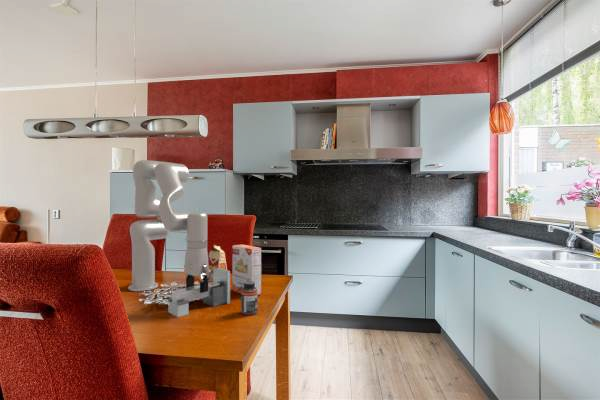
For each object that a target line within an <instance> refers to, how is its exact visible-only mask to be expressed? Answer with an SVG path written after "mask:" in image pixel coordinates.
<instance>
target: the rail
mask: <svg viewBox="0 0 600 400" xmlns="http://www.w3.org/2000/svg"><path fill="white" fill-rule="evenodd" d="M217 287H220V283H217V282H210V283H208V291H207V292H203V293H200V284H197V285H194V286H192V287H188V288H186V287H184V288H180V289H179V288H178V289H176V290H171V298H172V302H173V303H175V304H177V303H178V302H182V301H186V300H189V302H192V301H196V300H199V299H203V298H204V297H208V296H211V295H213V288H217Z"/></svg>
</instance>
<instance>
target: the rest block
mask: <svg viewBox="0 0 600 400" xmlns="http://www.w3.org/2000/svg"><path fill="white" fill-rule="evenodd" d="M167 303H168V307H167V309H168V310H167V312H168V313H169V314H171V315H172V316H175V317H176V318H180V317H184V316H187V315H188V316H189V311H190V310H189V306H190V305H189V303H190V301H189V300H186V301H182V302H178V303H177V304H175V303H173V302H172V297H170V298H168V299H167Z"/></svg>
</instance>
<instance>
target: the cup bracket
mask: <svg viewBox="0 0 600 400" xmlns="http://www.w3.org/2000/svg"><path fill="white" fill-rule="evenodd" d="M213 282H217V283H220V287H217V288H213V295H211V296H208V297H204V298H202V303H203V304H205V305H209V306H211V307H214V308H215V307H218V306H220V305H224V304H225V305H226V304H227V305H229V304H231V271H230V270H228V269H227V270H224V269H220V268H216V267H215V268H213Z"/></svg>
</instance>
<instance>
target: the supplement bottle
mask: <svg viewBox="0 0 600 400" xmlns="http://www.w3.org/2000/svg"><path fill="white" fill-rule="evenodd" d="M257 292H258V291H257V288H256V287H255V282H254V281H246V282H244V287H243V288H242V290H241V293H240V306H241V307H240V308H241V309H240V312H241V314H242V315H244V316H254V315H256V314H257V313H258V303H259V302H258V296H259V295H258V293H257Z"/></svg>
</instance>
